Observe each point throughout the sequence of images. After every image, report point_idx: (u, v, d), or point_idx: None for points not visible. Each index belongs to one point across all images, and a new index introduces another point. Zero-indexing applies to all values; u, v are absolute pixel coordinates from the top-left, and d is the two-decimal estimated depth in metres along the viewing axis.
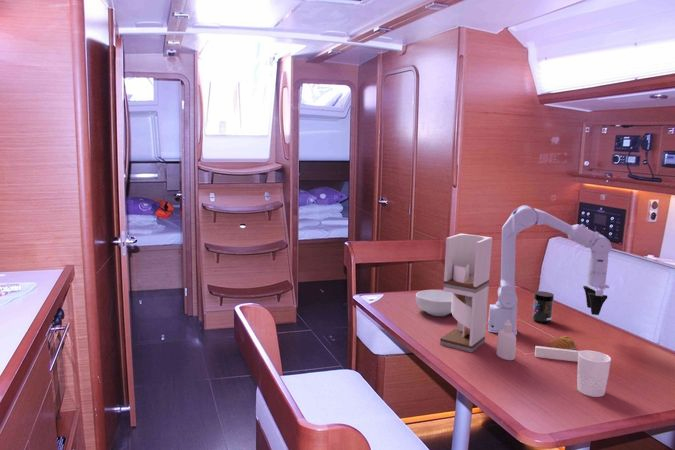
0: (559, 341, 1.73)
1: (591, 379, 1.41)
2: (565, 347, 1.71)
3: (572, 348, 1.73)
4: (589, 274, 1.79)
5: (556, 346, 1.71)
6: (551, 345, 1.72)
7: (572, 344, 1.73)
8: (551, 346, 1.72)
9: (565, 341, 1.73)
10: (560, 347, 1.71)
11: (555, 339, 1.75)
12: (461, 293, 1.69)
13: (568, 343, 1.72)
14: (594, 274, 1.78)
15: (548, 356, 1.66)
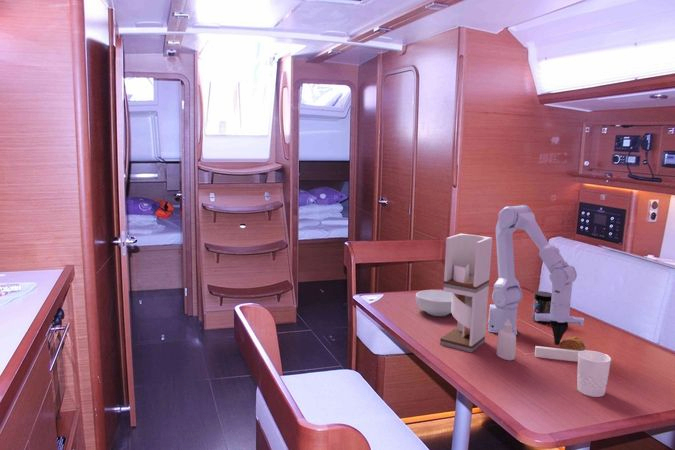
0: (569, 342, 1.72)
1: (591, 379, 1.41)
2: (576, 348, 1.70)
3: (582, 349, 1.72)
4: None
5: (567, 347, 1.70)
6: (562, 347, 1.71)
7: (582, 345, 1.72)
8: (562, 348, 1.70)
9: (575, 342, 1.72)
10: (571, 348, 1.69)
11: (565, 340, 1.74)
12: (461, 293, 1.69)
13: (578, 344, 1.71)
14: None
15: (548, 356, 1.66)
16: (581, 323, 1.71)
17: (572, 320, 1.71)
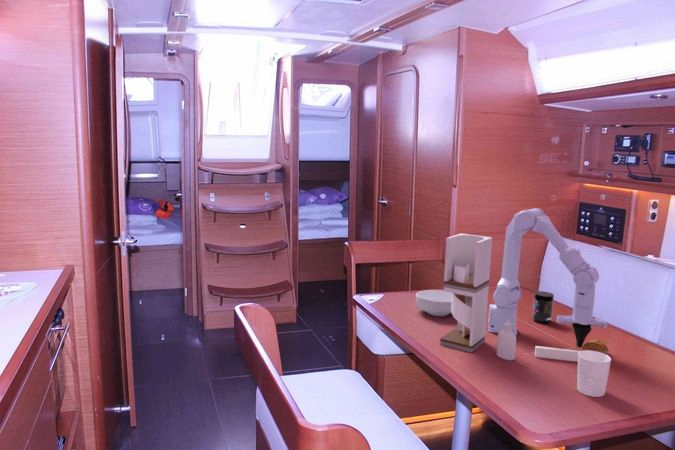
0: (592, 345, 1.70)
1: (591, 379, 1.41)
2: (599, 351, 1.68)
3: (605, 352, 1.70)
4: None
5: None
6: None
7: (605, 348, 1.70)
8: None
9: (598, 345, 1.69)
10: None
11: (587, 343, 1.72)
12: (461, 293, 1.69)
13: (602, 347, 1.69)
14: None
15: (548, 356, 1.66)
16: (604, 325, 1.69)
17: (595, 322, 1.69)
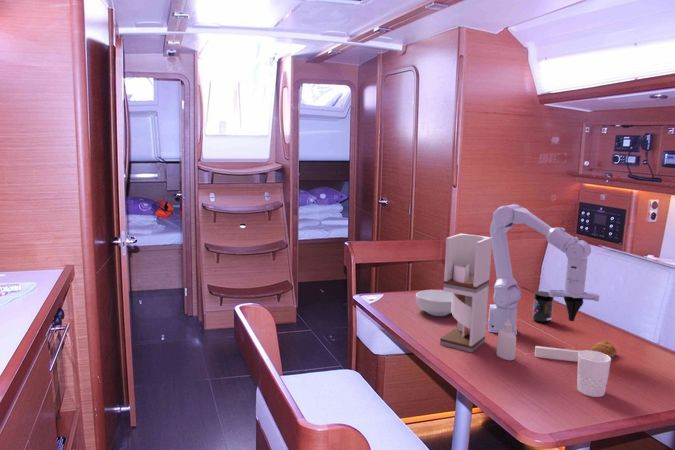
0: (601, 347, 1.69)
1: (591, 379, 1.41)
2: (608, 353, 1.67)
3: (613, 354, 1.69)
4: None
5: None
6: None
7: (613, 350, 1.69)
8: None
9: (607, 347, 1.69)
10: None
11: (595, 345, 1.71)
12: (461, 293, 1.69)
13: (610, 349, 1.68)
14: None
15: (548, 356, 1.66)
16: (596, 299, 1.70)
17: (587, 296, 1.70)
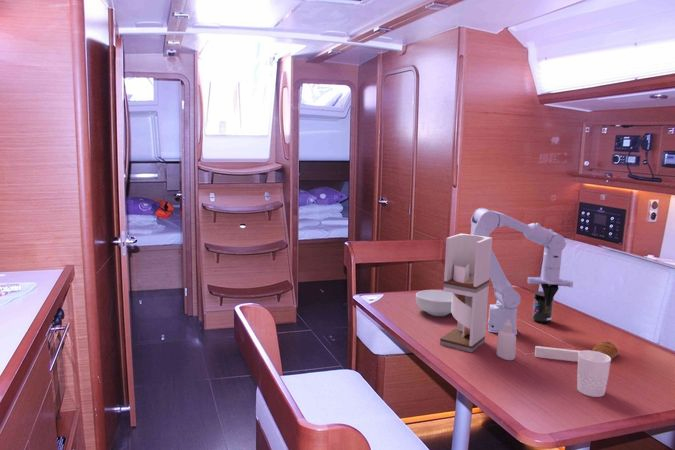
0: (603, 348, 1.68)
1: (591, 379, 1.41)
2: (610, 354, 1.67)
3: (615, 354, 1.69)
4: None
5: None
6: None
7: (615, 350, 1.69)
8: None
9: (609, 347, 1.68)
10: (606, 354, 1.66)
11: (597, 345, 1.71)
12: (461, 293, 1.69)
13: (612, 349, 1.68)
14: None
15: (548, 356, 1.66)
16: (570, 285, 1.85)
17: (562, 282, 1.85)
